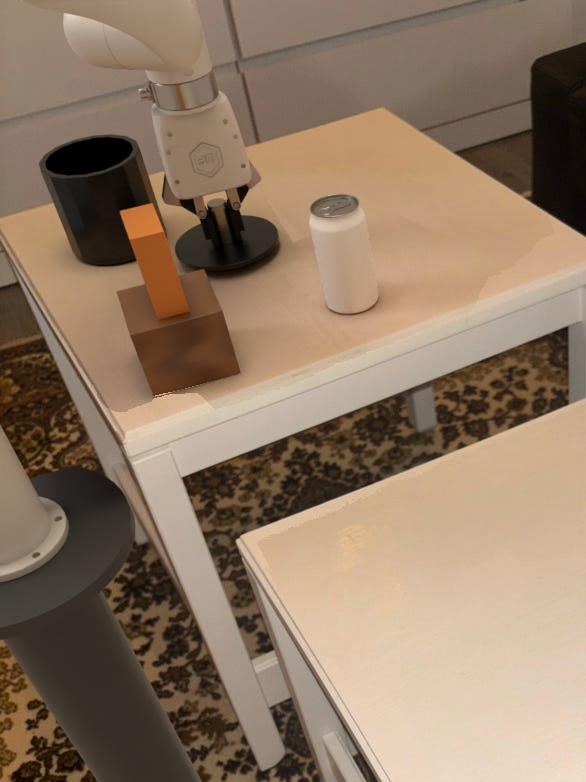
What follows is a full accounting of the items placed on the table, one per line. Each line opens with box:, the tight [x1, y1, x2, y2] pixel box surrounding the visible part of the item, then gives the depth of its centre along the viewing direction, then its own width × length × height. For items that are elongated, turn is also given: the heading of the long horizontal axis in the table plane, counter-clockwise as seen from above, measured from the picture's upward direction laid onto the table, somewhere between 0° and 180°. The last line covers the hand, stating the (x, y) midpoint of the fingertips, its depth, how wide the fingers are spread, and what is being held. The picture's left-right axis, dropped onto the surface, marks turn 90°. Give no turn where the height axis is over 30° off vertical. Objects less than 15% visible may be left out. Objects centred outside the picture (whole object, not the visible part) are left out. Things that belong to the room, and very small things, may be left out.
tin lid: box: [174, 197, 280, 272], centre depth 128 cm, size 14×14×6 cm
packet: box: [120, 203, 190, 320], centre depth 104 cm, size 4×7×9 cm, turn 22°
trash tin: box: [38, 133, 167, 266], centre depth 130 cm, size 13×13×12 cm
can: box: [308, 193, 379, 315], centre depth 115 cm, size 6×6×12 cm
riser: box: [116, 269, 242, 396], centre depth 111 cm, size 10×10×8 cm
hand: (226, 238), depth 129 cm, fingers closed on tin lid, 2 cm apart
